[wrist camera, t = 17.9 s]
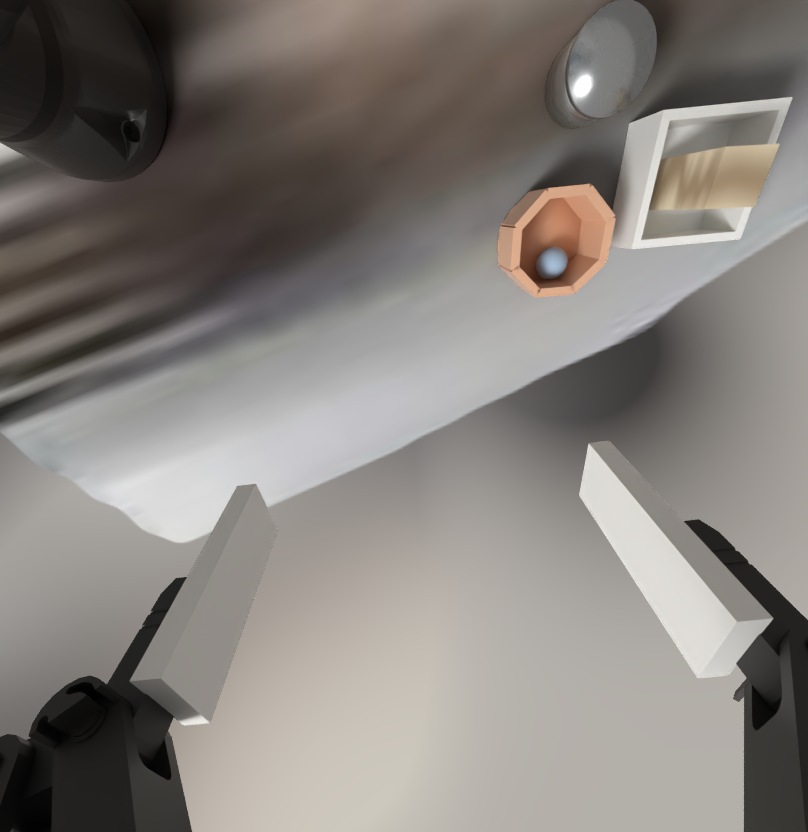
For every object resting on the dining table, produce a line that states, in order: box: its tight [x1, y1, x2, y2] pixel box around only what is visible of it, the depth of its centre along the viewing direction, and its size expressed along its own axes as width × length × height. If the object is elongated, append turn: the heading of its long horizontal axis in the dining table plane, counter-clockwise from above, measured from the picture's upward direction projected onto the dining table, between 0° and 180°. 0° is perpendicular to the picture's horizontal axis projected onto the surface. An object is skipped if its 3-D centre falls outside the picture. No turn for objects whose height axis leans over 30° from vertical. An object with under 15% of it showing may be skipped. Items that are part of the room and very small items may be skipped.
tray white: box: [610, 97, 793, 249], centre depth 32 cm, size 10×10×5 cm
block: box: [648, 144, 780, 210], centre depth 30 cm, size 4×4×8 cm
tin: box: [545, 0, 657, 129], centre depth 28 cm, size 6×6×5 cm
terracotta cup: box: [497, 184, 616, 298], centre depth 34 cm, size 9×9×6 cm
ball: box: [536, 247, 568, 279], centre depth 35 cm, size 3×3×3 cm
